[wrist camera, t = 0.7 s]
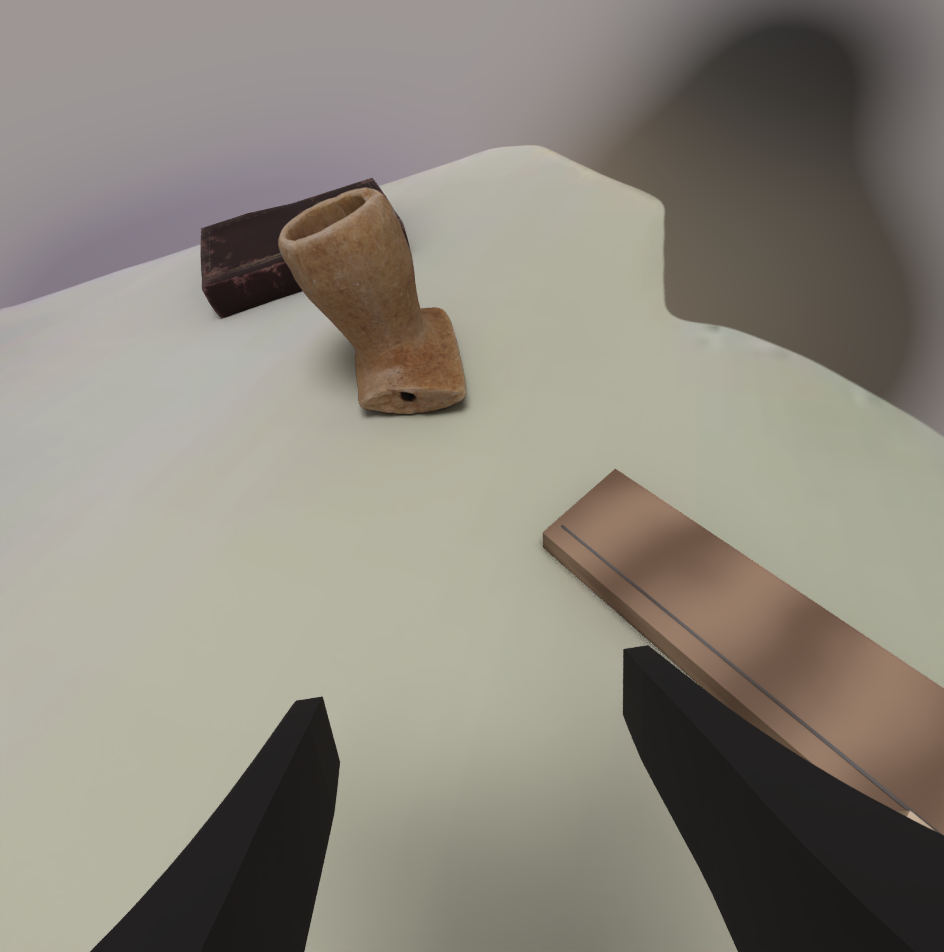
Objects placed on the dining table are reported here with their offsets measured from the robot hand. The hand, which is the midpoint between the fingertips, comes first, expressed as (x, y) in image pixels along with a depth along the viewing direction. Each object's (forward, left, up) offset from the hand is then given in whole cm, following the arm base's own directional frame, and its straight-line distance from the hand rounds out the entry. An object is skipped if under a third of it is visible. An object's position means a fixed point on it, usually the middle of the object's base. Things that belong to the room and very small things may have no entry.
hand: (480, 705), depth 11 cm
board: (-6, -13, -16) cm, 21 cm away
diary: (+62, -19, -16) cm, 67 cm away
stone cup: (+31, -14, -16) cm, 37 cm away
